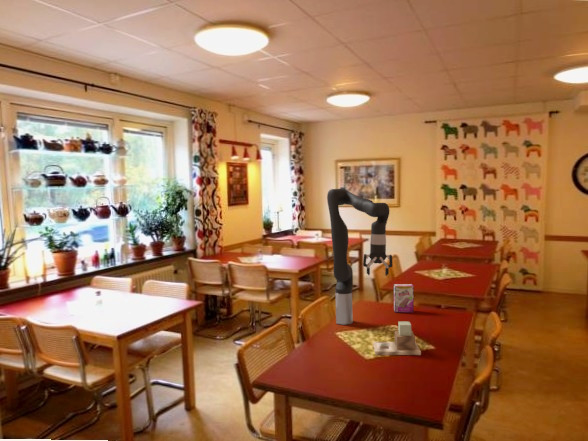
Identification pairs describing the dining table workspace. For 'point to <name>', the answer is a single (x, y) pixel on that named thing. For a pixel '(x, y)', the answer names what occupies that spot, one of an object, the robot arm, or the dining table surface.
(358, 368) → the dining table surface
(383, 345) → the birch board
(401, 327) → the sage cube
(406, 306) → the candy bar box
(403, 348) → the walnut base block
